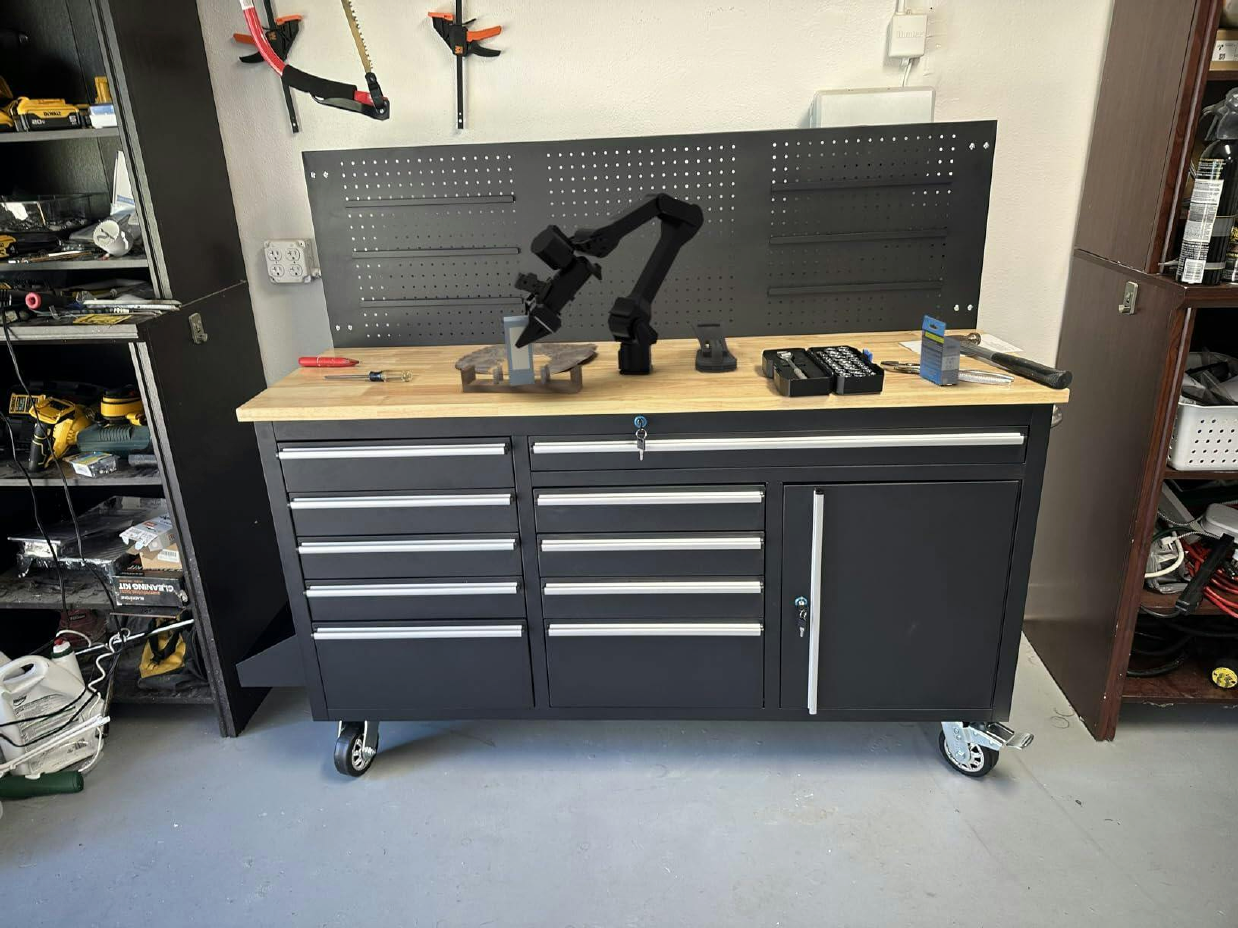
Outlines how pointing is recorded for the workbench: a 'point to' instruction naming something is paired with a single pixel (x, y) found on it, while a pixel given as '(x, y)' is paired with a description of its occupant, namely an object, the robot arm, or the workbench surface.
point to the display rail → (504, 385)
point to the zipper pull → (713, 348)
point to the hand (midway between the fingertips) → (515, 342)
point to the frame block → (518, 352)
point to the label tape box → (939, 354)
